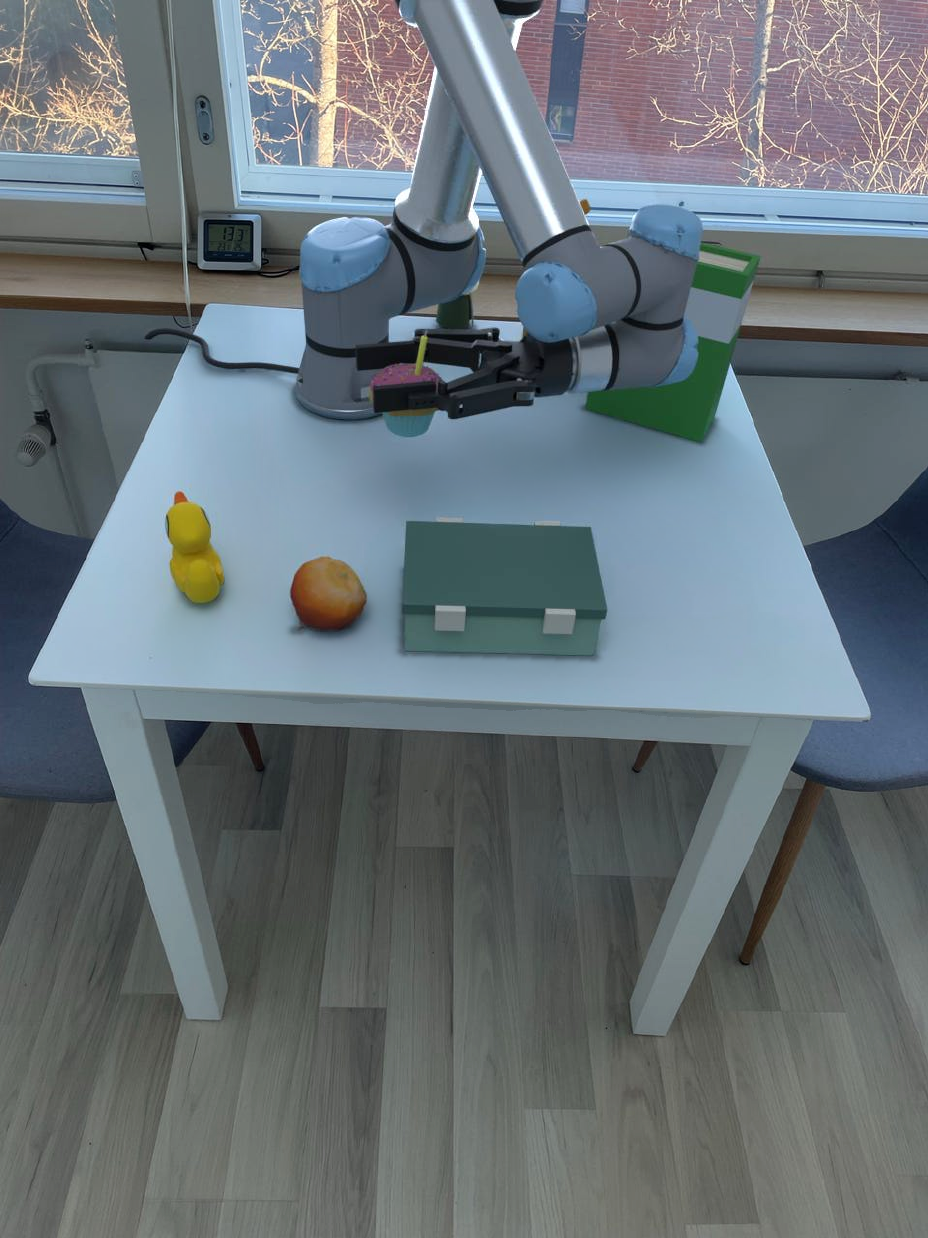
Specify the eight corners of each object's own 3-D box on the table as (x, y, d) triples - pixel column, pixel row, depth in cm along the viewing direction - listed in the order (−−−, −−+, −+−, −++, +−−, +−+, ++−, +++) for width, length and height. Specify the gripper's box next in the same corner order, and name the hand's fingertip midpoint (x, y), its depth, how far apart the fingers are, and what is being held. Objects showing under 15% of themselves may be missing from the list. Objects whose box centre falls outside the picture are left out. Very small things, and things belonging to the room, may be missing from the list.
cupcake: (455, 417, 102) (461, 317, 94) (429, 454, 96) (432, 351, 88) (386, 400, 104) (386, 301, 95) (356, 436, 98) (353, 334, 89)
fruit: (276, 583, 97) (310, 534, 93) (340, 609, 100) (376, 563, 96) (270, 635, 91) (307, 585, 87) (338, 661, 95) (376, 614, 90)
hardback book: (585, 408, 131) (613, 244, 114) (602, 387, 136) (631, 226, 119) (701, 442, 126) (747, 275, 109) (714, 418, 131) (760, 255, 114)
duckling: (166, 557, 101) (150, 485, 94) (214, 548, 103) (201, 477, 96) (183, 623, 94) (166, 549, 87) (234, 611, 96) (221, 539, 89)
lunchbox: (401, 658, 92) (402, 609, 87) (405, 564, 103) (406, 515, 98) (597, 663, 93) (608, 615, 88) (580, 569, 104) (590, 522, 99)
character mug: (455, 343, 143) (459, 263, 134) (418, 330, 146) (420, 251, 137) (489, 319, 150) (495, 242, 141) (454, 308, 153) (458, 231, 144)
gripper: (593, 439, 95) (386, 462, 90) (528, 347, 109) (347, 363, 104) (605, 375, 90) (386, 396, 84) (535, 288, 104) (345, 301, 99)
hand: (365, 378), depth 94 cm, fingers closed on cupcake, 8 cm apart
